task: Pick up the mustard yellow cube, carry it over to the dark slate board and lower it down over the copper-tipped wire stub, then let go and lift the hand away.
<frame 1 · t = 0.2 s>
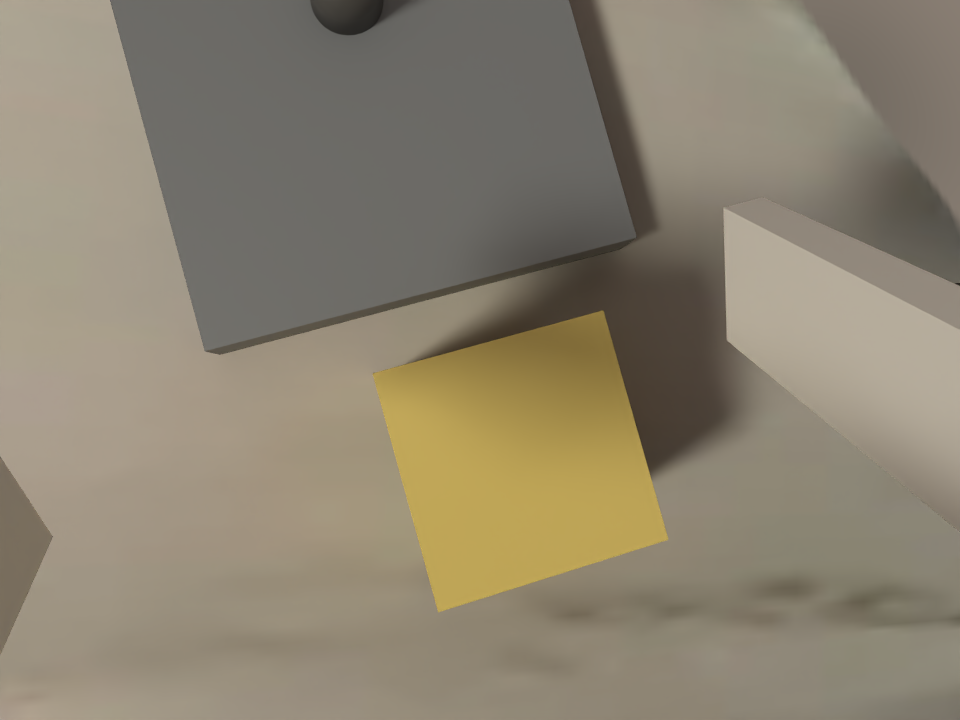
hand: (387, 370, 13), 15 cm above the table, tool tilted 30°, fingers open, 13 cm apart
board: (364, 77, 28), on the table
mustard yellow cube: (493, 442, 28), on the table
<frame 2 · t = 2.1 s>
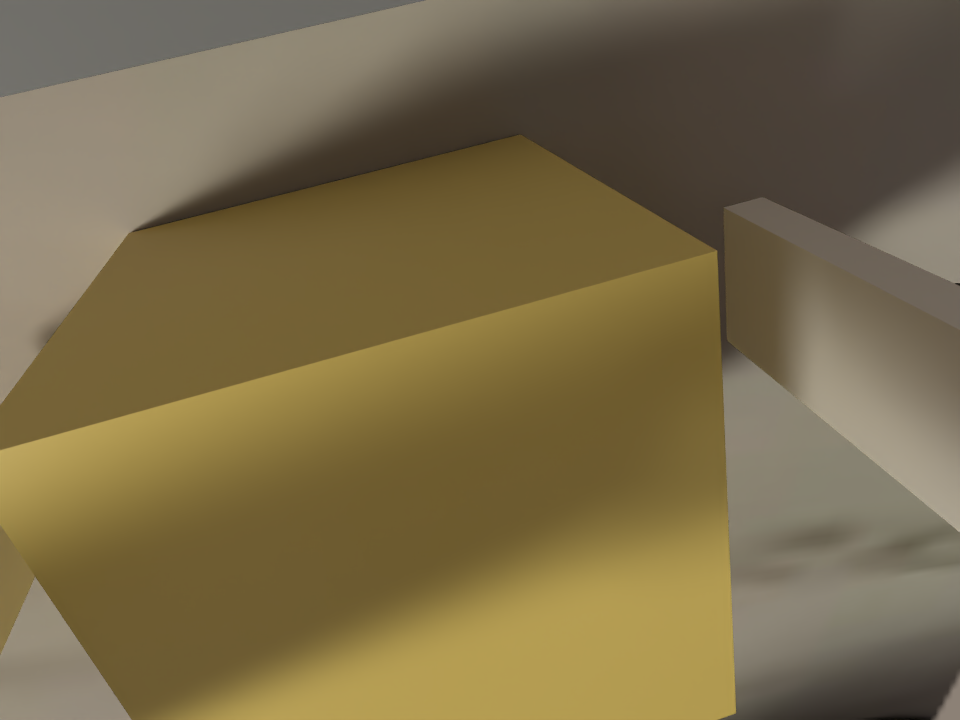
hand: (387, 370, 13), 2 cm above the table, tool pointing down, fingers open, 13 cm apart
mustard yellow cube: (381, 355, 14), on the table
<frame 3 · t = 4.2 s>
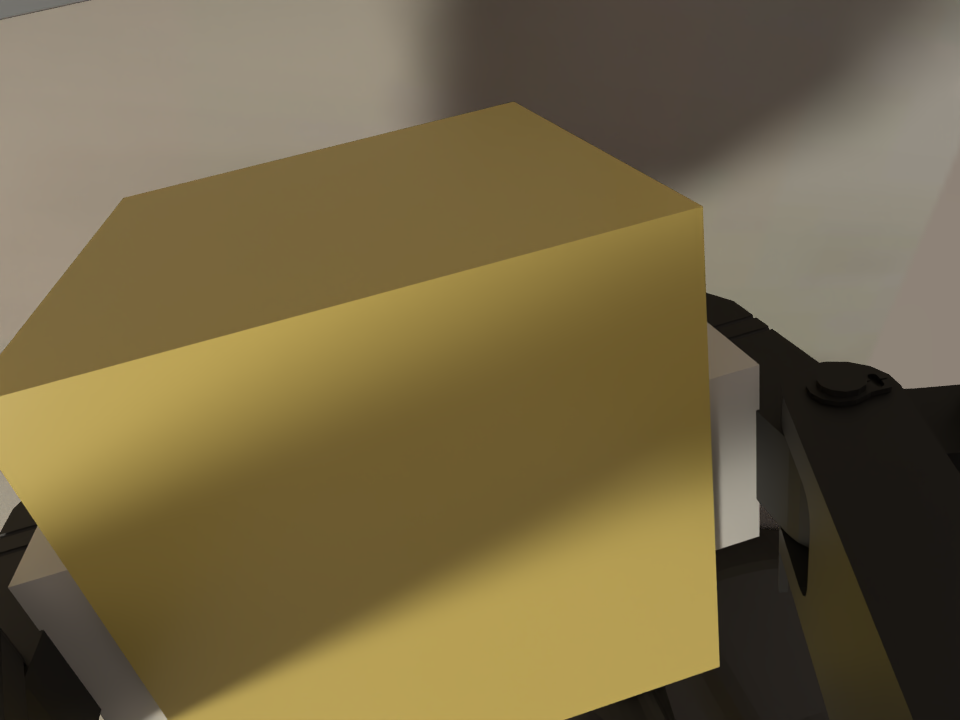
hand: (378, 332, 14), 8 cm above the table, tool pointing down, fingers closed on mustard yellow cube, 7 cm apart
mustard yellow cube: (375, 322, 14), point 7 cm above the table, touching gripper
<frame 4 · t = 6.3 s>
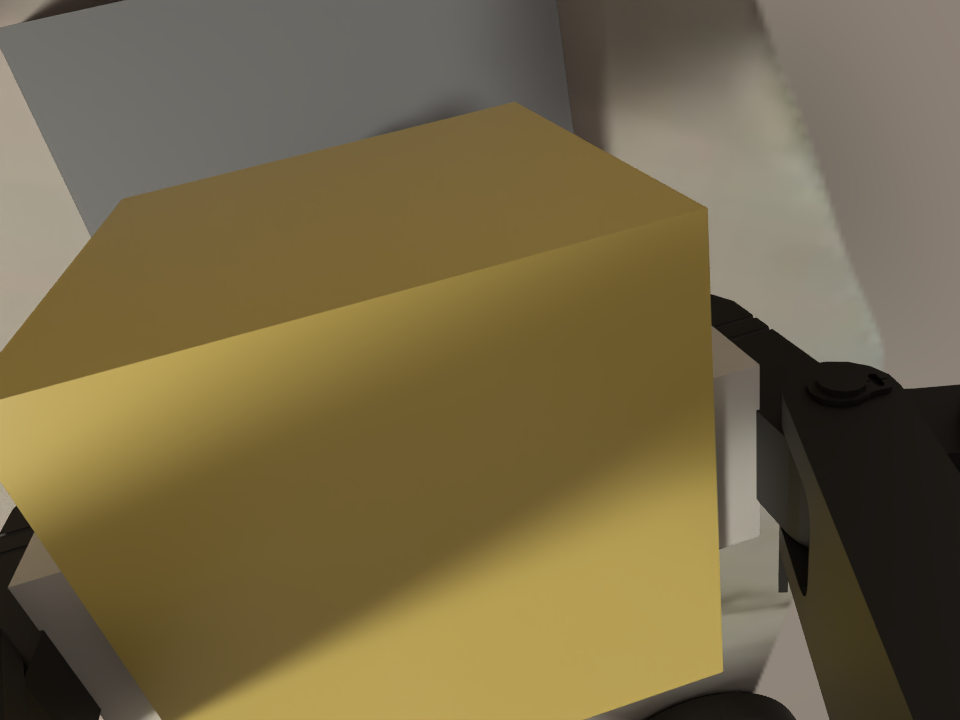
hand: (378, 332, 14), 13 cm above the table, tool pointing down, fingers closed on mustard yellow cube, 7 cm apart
board: (359, 240, 27), on the table
mustard yellow cube: (376, 324, 14), point 13 cm above the table, touching gripper
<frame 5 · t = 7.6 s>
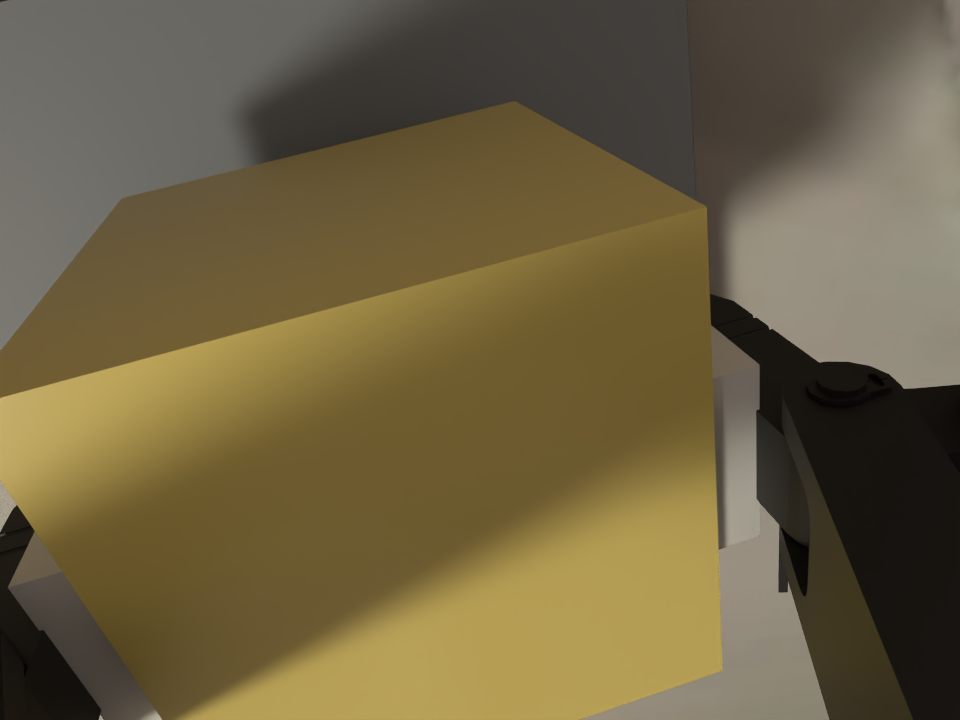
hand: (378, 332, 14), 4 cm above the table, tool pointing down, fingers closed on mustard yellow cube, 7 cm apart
board: (383, 334, 19), on the table
mustard yellow cube: (375, 323, 14), point 4 cm above the table, touching gripper
when the fingers open (3 cm above the table, at t = 8.6 s): mustard yellow cube stays where it is, resting on board.
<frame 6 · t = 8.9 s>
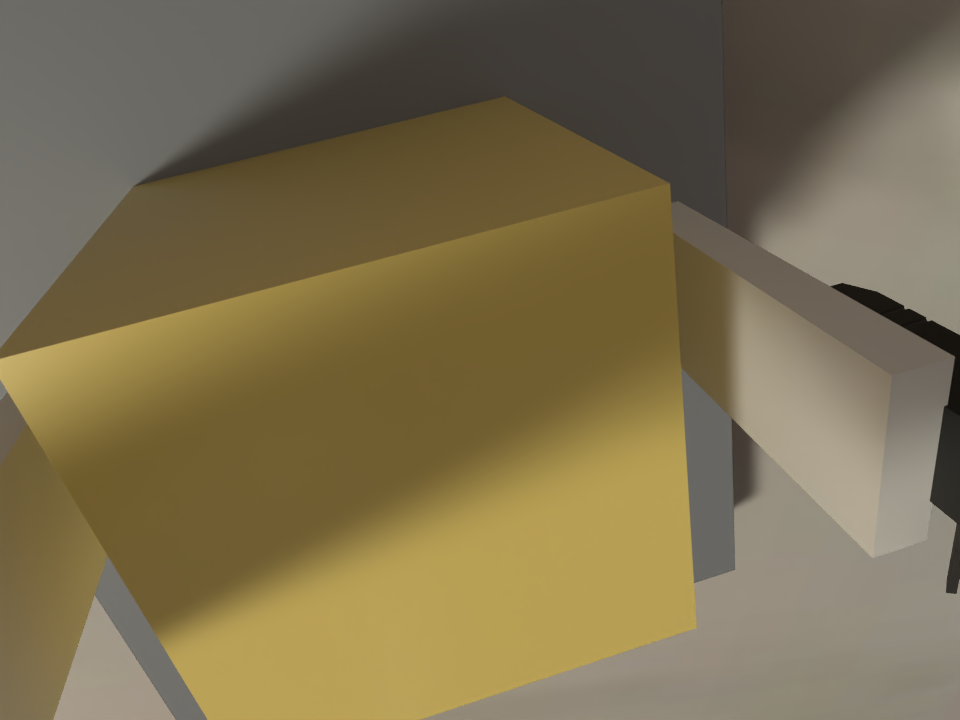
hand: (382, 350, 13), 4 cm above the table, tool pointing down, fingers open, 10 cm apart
board: (387, 351, 18), on the table
mustard yellow cube: (373, 308, 15), point 2 cm above the table, touching board
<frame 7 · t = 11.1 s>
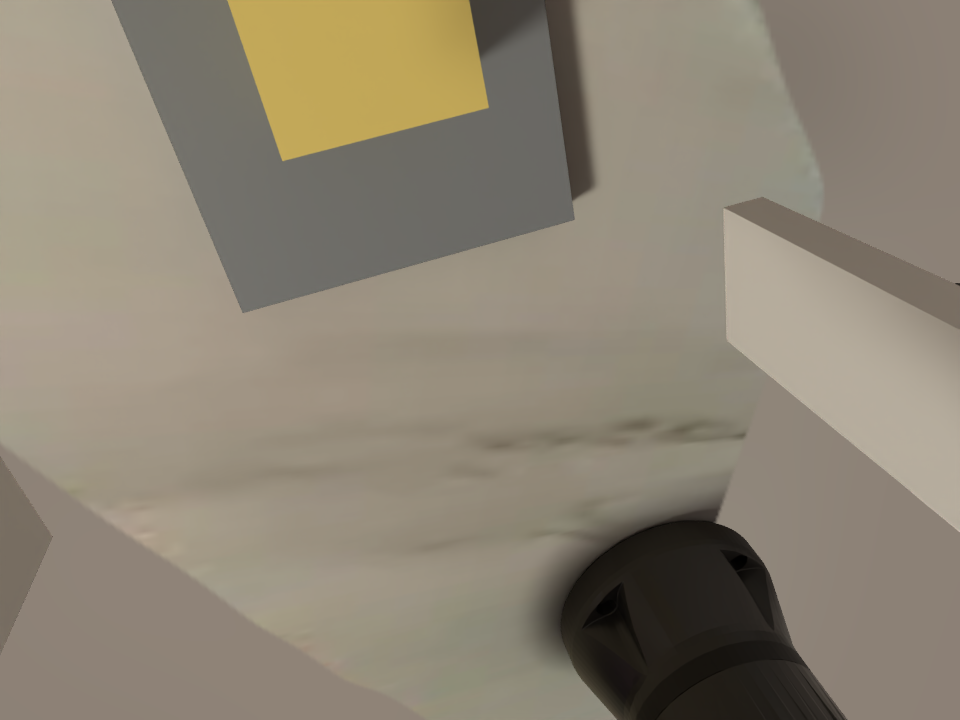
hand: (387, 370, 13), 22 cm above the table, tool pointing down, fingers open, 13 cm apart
board: (353, 56, 31), on the table
mustard yellow cube: (342, 6, 28), point 2 cm above the table, touching board
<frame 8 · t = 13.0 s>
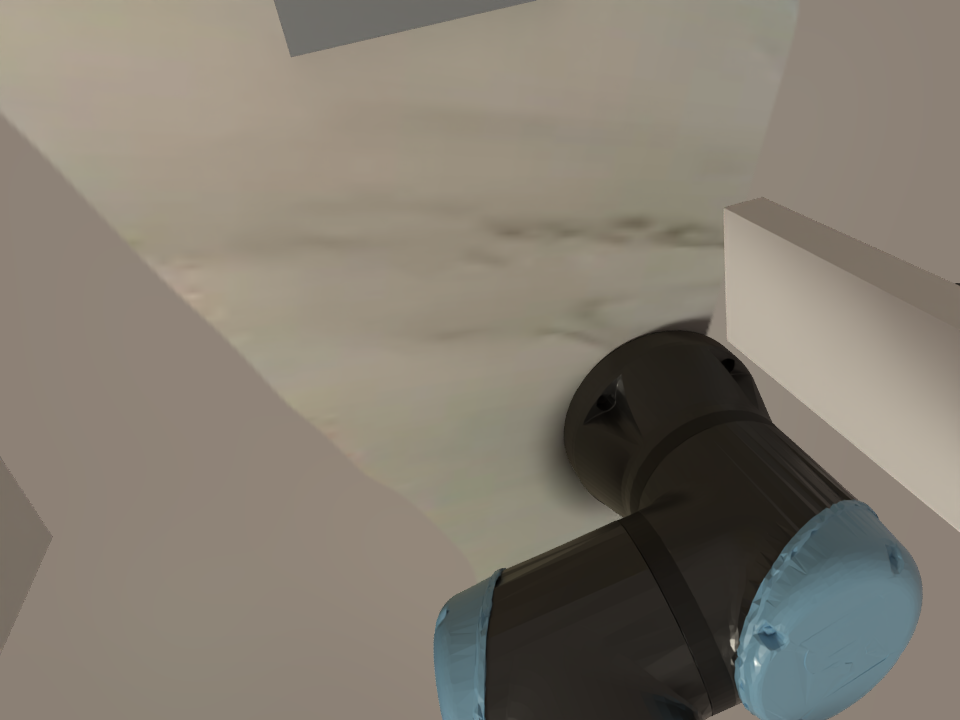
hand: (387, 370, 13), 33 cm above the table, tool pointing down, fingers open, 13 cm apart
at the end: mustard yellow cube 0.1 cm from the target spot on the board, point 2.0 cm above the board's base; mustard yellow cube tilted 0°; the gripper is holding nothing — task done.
